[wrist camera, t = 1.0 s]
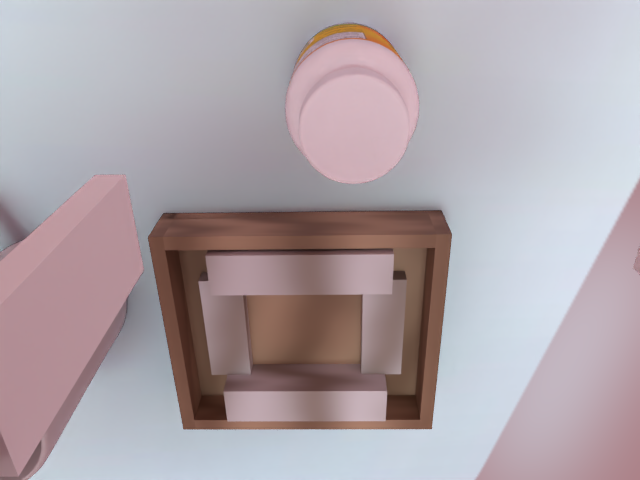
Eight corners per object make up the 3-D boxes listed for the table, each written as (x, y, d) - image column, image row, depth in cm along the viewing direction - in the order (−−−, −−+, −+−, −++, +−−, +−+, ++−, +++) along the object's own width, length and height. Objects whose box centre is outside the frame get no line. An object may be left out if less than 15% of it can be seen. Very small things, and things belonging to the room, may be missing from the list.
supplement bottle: (409, 115, 29) (443, 183, 20) (310, 140, 29) (302, 217, 21) (388, 7, 26) (416, 32, 18) (281, 38, 27) (258, 77, 18)
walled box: (193, 396, 38) (182, 432, 35) (163, 213, 31) (146, 239, 28) (424, 395, 37) (432, 432, 34) (441, 210, 31) (453, 237, 28)
